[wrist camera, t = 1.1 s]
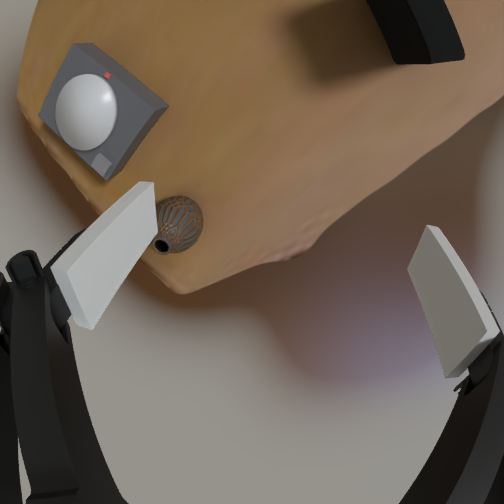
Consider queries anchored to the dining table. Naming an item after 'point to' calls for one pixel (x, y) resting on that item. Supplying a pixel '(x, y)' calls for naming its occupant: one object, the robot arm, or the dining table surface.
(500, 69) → the dining table surface
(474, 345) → the robot arm
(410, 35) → the electronic device
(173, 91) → the dining table surface
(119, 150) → the grey dome button box
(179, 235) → the vase
